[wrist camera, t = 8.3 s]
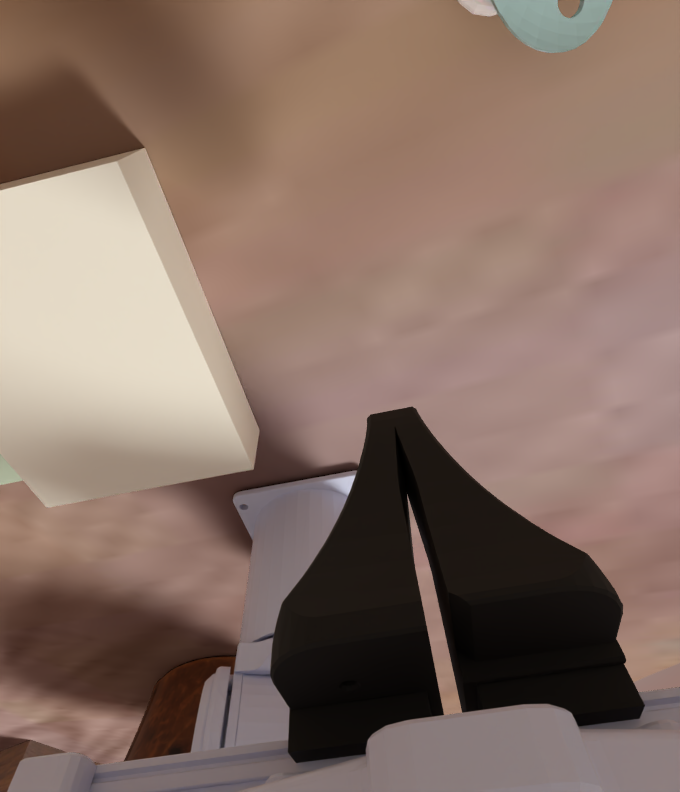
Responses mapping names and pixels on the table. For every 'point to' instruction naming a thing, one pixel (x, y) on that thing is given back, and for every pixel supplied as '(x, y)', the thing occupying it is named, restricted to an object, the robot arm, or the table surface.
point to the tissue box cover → (6, 762)
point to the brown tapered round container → (174, 710)
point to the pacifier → (544, 21)
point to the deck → (109, 341)
